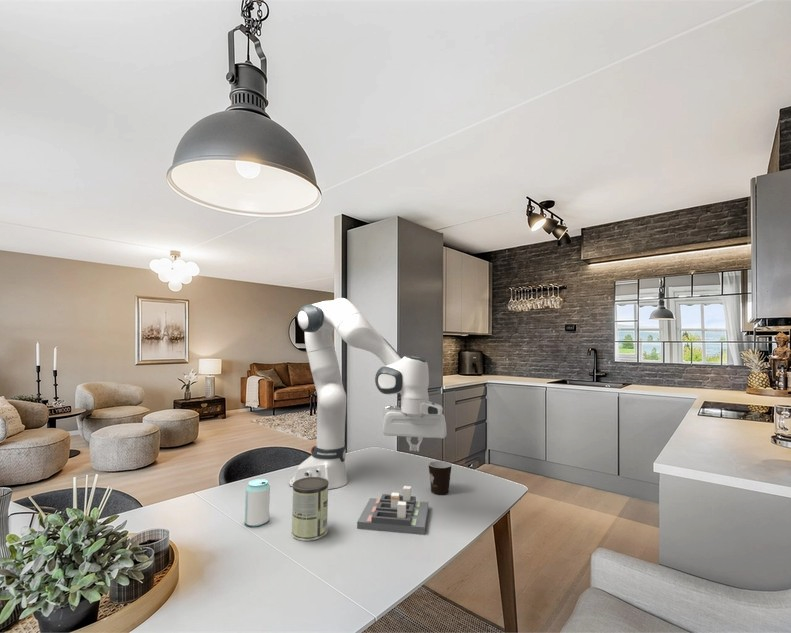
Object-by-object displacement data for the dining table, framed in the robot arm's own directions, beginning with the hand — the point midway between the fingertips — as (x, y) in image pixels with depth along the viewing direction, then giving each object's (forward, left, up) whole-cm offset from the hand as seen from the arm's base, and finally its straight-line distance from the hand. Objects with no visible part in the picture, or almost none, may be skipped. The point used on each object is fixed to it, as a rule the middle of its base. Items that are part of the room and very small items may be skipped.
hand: (414, 450), depth 124 cm
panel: (-6, 0, -21) cm, 22 cm away
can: (-47, -10, -21) cm, 53 cm away
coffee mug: (+7, +26, -21) cm, 34 cm away
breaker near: (-3, -6, -19) cm, 20 cm away
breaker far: (-3, +6, -19) cm, 20 cm away
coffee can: (-29, -14, -21) cm, 38 cm away
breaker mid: (-6, 0, -19) cm, 20 cm away
